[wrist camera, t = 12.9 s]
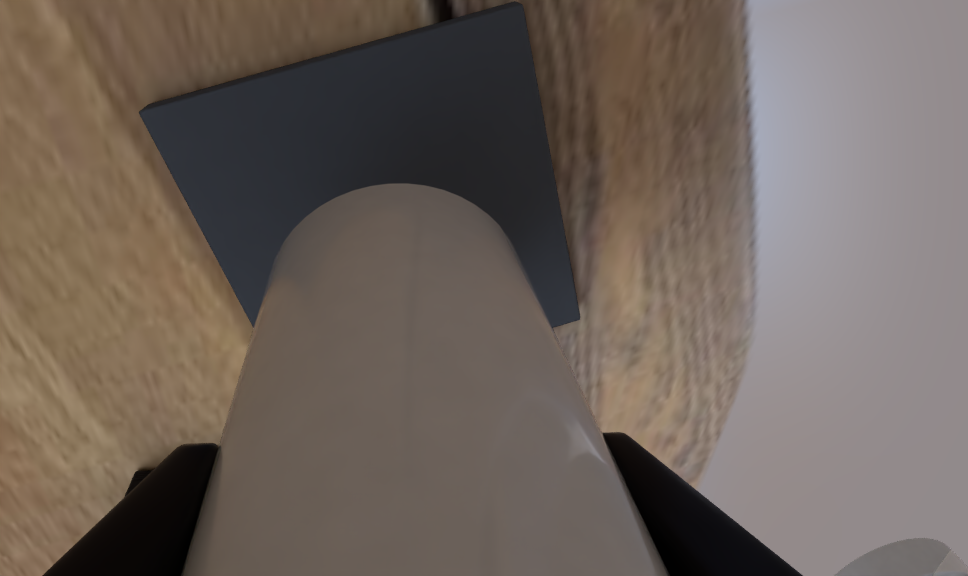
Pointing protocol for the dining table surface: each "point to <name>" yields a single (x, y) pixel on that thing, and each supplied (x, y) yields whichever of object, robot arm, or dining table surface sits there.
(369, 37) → the dining table surface
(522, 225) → the mat
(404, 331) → the canister
